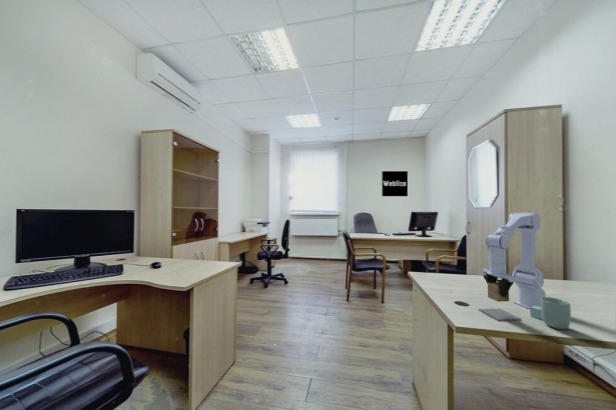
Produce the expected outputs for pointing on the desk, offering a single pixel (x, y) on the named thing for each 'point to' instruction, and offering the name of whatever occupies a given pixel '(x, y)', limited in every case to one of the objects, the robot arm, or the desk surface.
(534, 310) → the teal block
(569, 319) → the cup
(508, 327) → the desk surface
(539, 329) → the desk surface
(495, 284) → the walnut block
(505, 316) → the slate coaster
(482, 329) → the desk surface
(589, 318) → the desk surface
